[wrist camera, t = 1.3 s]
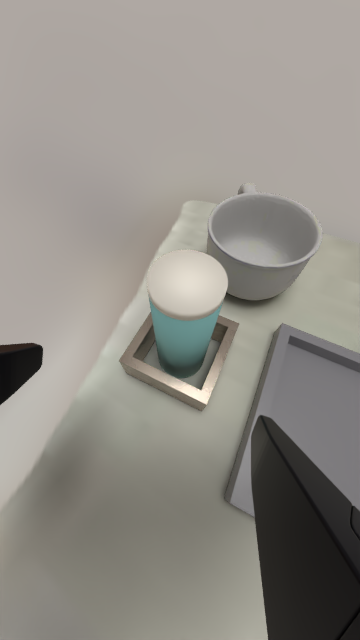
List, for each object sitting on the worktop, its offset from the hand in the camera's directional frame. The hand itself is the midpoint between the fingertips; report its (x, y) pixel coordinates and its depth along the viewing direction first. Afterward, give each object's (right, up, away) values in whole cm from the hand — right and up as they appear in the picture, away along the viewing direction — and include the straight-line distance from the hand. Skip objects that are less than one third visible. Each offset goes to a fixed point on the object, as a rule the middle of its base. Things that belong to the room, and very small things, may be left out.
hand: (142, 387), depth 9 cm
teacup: (+10, +9, +21) cm, 25 cm away
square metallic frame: (+2, -1, +14) cm, 14 cm away
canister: (+2, -1, +14) cm, 15 cm away
